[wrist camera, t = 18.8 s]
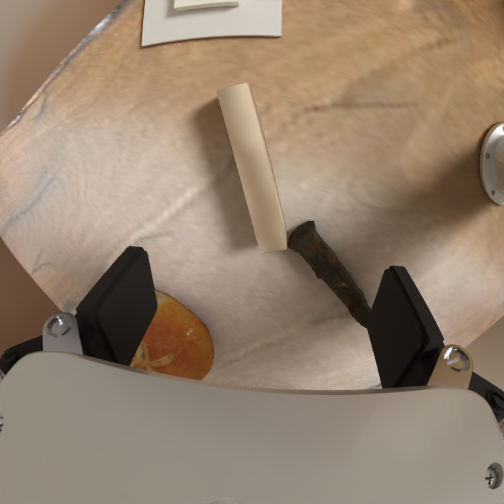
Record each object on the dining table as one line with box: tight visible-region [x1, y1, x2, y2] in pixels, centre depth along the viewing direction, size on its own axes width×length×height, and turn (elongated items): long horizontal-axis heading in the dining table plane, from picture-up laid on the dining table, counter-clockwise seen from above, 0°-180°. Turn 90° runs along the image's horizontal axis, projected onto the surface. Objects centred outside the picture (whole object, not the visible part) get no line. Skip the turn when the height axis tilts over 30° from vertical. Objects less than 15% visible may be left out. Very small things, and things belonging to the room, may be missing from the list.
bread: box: [130, 290, 214, 380], centre depth 42 cm, size 23×23×10 cm
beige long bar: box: [216, 83, 287, 254], centre depth 29 cm, size 3×18×5 cm, turn 14°
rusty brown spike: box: [288, 221, 371, 328], centre depth 36 cm, size 19×4×5 cm, turn 39°
